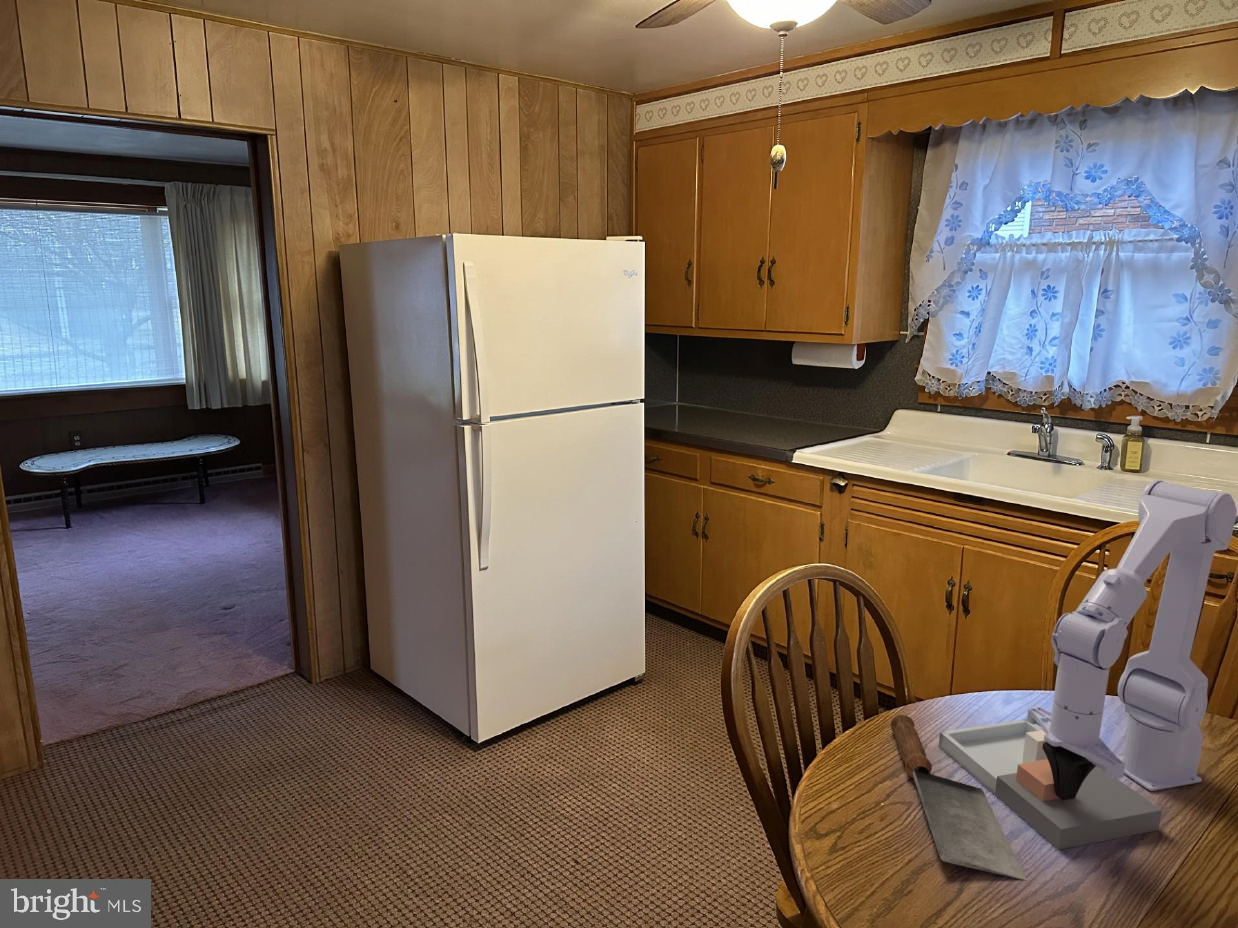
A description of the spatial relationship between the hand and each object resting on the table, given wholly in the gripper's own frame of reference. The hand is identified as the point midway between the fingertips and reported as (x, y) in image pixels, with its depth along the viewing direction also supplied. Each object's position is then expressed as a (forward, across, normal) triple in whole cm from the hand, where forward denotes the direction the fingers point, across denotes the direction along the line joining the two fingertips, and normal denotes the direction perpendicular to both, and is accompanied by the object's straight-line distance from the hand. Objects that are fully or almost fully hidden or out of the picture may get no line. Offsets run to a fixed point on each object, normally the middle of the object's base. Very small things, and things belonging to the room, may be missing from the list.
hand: (1065, 796), depth 112 cm
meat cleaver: (+4, -9, -10) cm, 15 cm away
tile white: (+1, -10, +7) cm, 12 cm away
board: (+4, -2, +4) cm, 6 cm away
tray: (+4, -14, +4) cm, 15 cm away
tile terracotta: (+1, -4, 0) cm, 4 cm away
